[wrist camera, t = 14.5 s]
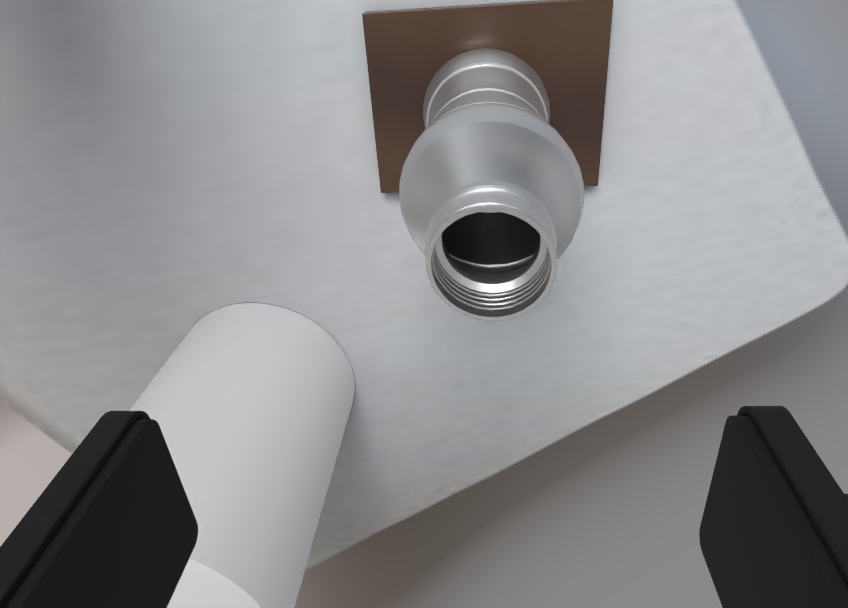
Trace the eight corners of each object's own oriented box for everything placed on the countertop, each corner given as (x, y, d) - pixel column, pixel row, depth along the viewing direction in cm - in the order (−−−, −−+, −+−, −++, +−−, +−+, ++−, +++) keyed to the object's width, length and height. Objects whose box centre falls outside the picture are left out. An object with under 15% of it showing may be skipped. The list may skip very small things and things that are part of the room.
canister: (315, 285, 42) (200, 518, 25) (378, 429, 48) (321, 694, 31) (148, 324, 45) (-57, 557, 28) (229, 455, 51) (101, 711, 34)
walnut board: (365, 11, 33) (362, 13, 32) (609, -5, 32) (613, -3, 31) (383, 187, 38) (380, 193, 37) (595, 180, 37) (597, 186, 36)
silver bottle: (468, 15, 32) (452, 96, 15) (570, 88, 33) (665, 241, 16) (405, 119, 35) (329, 288, 18) (501, 182, 36) (518, 396, 19)
